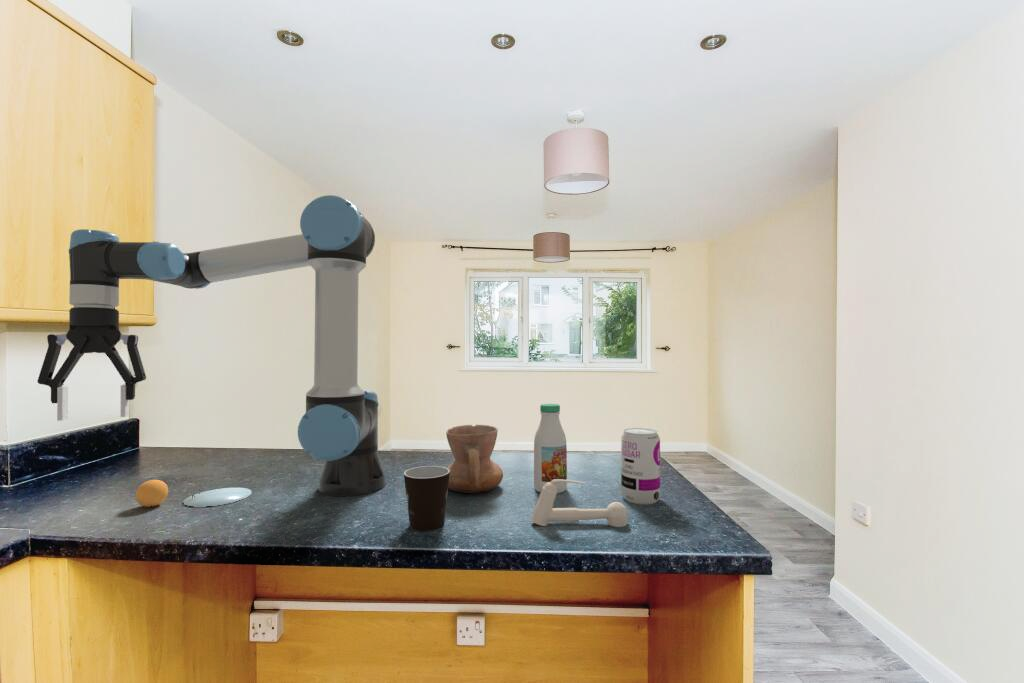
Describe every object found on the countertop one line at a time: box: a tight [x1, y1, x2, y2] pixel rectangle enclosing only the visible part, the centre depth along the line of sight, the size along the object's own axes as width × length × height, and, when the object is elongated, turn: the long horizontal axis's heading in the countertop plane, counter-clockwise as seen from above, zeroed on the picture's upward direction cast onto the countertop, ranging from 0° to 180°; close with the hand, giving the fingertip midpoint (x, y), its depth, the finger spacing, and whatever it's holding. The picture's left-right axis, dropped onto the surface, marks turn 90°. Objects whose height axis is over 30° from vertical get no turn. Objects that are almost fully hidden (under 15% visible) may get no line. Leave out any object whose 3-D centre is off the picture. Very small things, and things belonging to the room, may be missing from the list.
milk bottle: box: [533, 403, 568, 494], centre depth 109 cm, size 8×8×20 cm
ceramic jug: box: [445, 424, 504, 494], centre depth 109 cm, size 18×14×14 cm
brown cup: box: [403, 465, 450, 532], centre depth 89 cm, size 12×9×10 cm
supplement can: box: [620, 427, 661, 506], centre depth 102 cm, size 8×8×15 cm
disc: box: [182, 487, 253, 508], centre depth 104 cm, size 13×13×1 cm
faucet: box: [530, 479, 628, 528], centre depth 88 cm, size 4×18×10 cm, turn 91°
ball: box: [135, 479, 169, 508], centre depth 98 cm, size 6×6×6 cm
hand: (94, 417), depth 94 cm, fingers open, 9 cm apart
